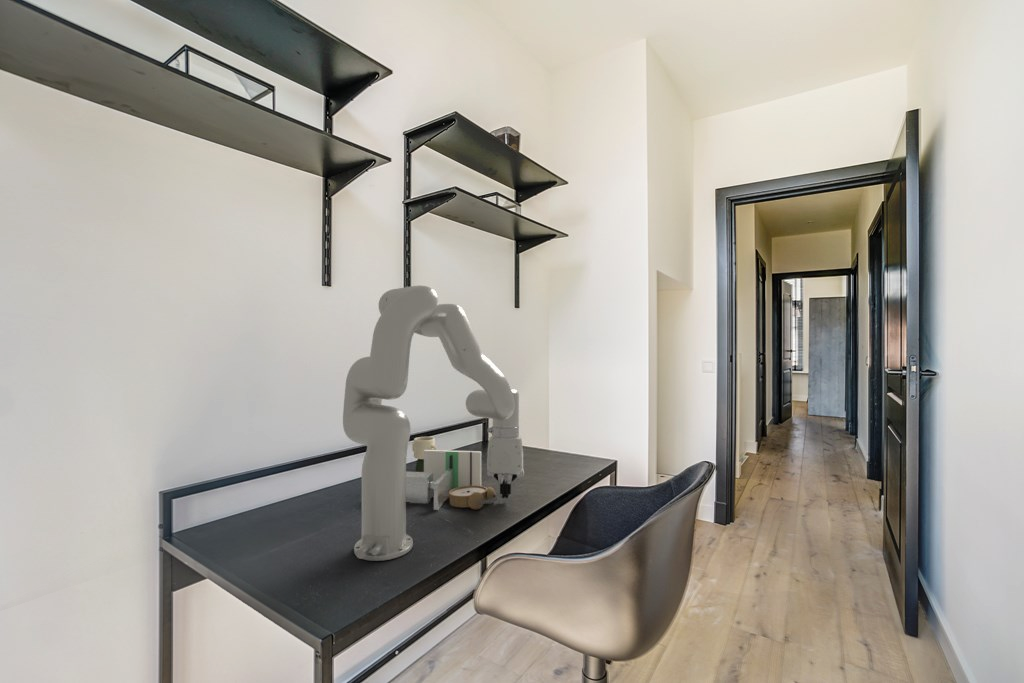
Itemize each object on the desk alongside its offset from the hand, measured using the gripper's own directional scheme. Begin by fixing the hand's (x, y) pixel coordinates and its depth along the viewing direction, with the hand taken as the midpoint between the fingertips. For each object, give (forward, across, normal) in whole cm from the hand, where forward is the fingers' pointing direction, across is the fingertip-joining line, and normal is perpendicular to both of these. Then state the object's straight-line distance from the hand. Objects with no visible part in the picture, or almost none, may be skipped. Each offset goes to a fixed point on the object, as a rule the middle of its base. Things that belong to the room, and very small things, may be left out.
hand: (505, 496), depth 132 cm
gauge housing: (+2, -28, 0) cm, 28 cm away
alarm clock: (+3, -9, -1) cm, 10 cm away
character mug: (+2, -31, +23) cm, 39 cm away
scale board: (+2, -18, +10) cm, 21 cm away
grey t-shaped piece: (+2, -23, +1) cm, 23 cm away
